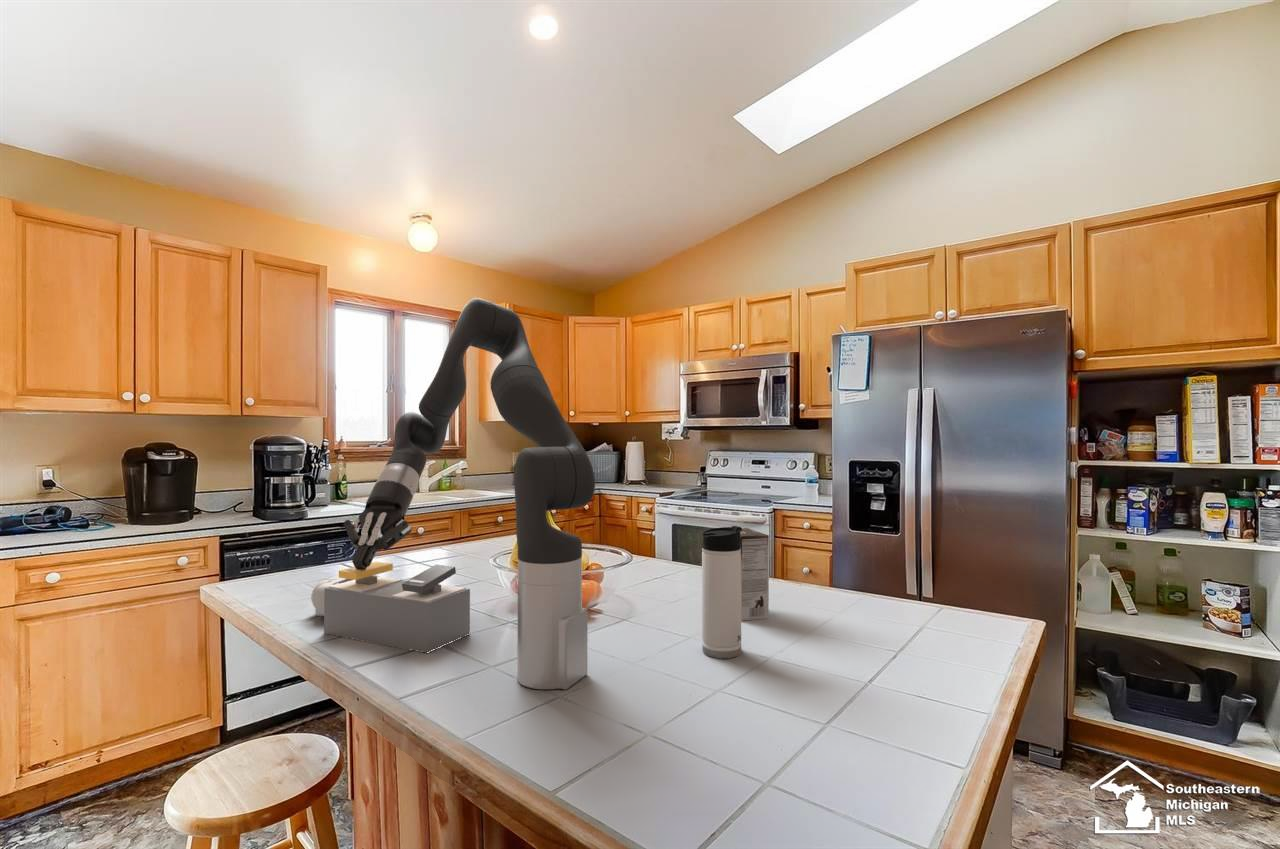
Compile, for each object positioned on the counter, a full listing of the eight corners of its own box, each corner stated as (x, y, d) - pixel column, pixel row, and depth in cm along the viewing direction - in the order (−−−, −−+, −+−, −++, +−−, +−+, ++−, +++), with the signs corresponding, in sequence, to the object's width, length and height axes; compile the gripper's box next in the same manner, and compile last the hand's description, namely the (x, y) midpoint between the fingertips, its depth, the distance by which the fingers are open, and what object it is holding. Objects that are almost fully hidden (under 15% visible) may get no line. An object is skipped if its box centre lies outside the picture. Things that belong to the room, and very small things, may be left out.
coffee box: (719, 608, 120) (718, 528, 120) (747, 605, 122) (747, 527, 122) (739, 621, 111) (739, 535, 111) (770, 618, 113) (769, 533, 113)
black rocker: (456, 573, 104) (454, 565, 104) (422, 593, 97) (421, 585, 97) (436, 570, 106) (435, 563, 106) (402, 590, 99) (401, 582, 98)
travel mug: (750, 655, 94) (750, 529, 94) (714, 661, 91) (713, 531, 92) (730, 642, 99) (730, 523, 100) (695, 647, 97) (695, 526, 97)
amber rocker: (392, 570, 110) (392, 562, 110) (356, 579, 103) (356, 572, 103) (375, 567, 112) (375, 560, 112) (338, 577, 105) (338, 569, 105)
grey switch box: (469, 634, 104) (469, 580, 104) (427, 653, 95) (428, 594, 95) (370, 617, 114) (371, 568, 114) (323, 633, 104) (324, 580, 105)
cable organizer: (300, 585, 112) (356, 588, 110) (344, 570, 125) (395, 573, 122) (300, 620, 112) (356, 624, 110) (344, 602, 125) (395, 605, 122)
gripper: (354, 478, 115) (314, 554, 102) (420, 479, 114) (387, 556, 101) (368, 503, 120) (332, 578, 107) (431, 503, 119) (402, 579, 106)
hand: (359, 567), depth 104 cm, fingers closed
